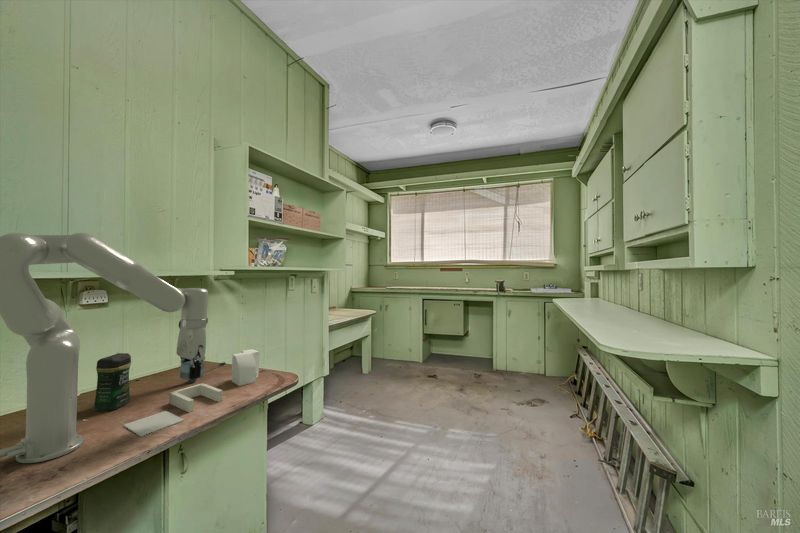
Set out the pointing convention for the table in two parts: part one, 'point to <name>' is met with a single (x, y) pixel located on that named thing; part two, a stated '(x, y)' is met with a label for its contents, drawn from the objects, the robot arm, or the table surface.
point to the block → (188, 370)
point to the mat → (153, 423)
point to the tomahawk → (214, 367)
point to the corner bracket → (245, 367)
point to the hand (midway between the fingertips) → (190, 376)
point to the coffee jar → (112, 382)
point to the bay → (184, 396)
